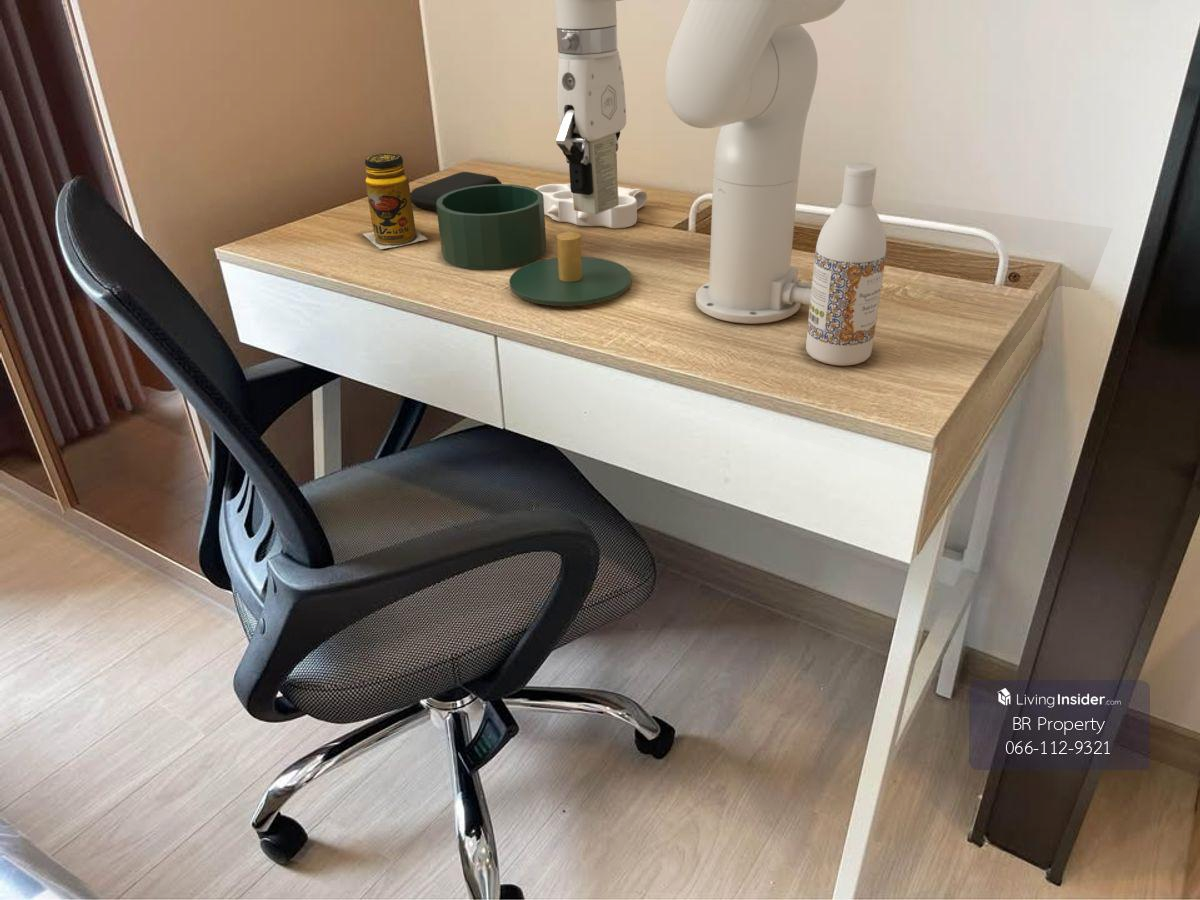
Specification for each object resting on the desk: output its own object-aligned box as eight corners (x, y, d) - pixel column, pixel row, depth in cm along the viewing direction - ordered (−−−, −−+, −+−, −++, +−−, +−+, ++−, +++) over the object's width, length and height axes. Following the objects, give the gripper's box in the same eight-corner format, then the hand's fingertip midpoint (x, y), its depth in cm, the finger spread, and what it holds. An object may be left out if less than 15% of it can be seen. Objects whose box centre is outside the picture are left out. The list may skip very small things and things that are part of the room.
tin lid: (653, 276, 119) (653, 226, 116) (590, 319, 108) (588, 265, 104) (554, 257, 126) (551, 210, 123) (485, 296, 115) (480, 245, 111)
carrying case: (460, 184, 158) (399, 207, 148) (458, 167, 157) (396, 188, 147) (507, 193, 153) (448, 217, 143) (506, 175, 152) (446, 198, 141)
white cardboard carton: (596, 201, 128) (592, 127, 123) (619, 206, 125) (617, 130, 120) (570, 210, 125) (566, 134, 120) (594, 215, 122) (591, 137, 117)
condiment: (381, 250, 131) (367, 165, 124) (361, 235, 137) (348, 153, 130) (428, 240, 134) (417, 157, 127) (407, 225, 140) (396, 145, 134)
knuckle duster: (664, 209, 143) (612, 236, 133) (571, 193, 152) (516, 217, 142) (664, 188, 142) (611, 213, 132) (570, 173, 151) (514, 195, 140)
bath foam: (838, 373, 95) (863, 180, 84) (791, 350, 100) (809, 164, 89) (884, 356, 98) (913, 167, 87) (837, 334, 103) (859, 153, 92)
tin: (566, 244, 131) (563, 191, 127) (506, 277, 121) (501, 221, 117) (485, 229, 138) (480, 179, 134) (421, 259, 127) (414, 206, 123)
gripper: (575, 53, 106) (584, 207, 116) (646, 34, 119) (649, 175, 128) (523, 51, 110) (535, 201, 119) (597, 33, 122) (603, 170, 131)
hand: (594, 186), depth 123 cm, fingers closed on white cardboard carton, 5 cm apart
